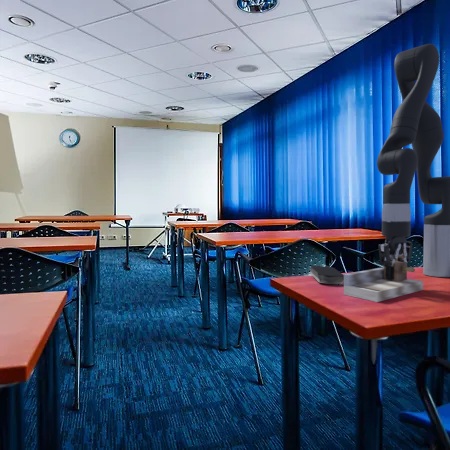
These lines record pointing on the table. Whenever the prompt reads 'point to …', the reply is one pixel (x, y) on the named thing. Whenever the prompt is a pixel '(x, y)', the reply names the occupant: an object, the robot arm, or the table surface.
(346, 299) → the table surface
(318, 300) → the table surface
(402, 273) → the brown block with peg
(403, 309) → the table surface
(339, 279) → the black sponge
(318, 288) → the table surface
